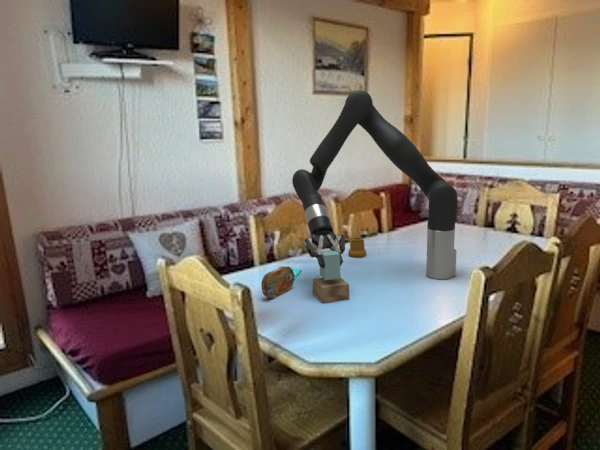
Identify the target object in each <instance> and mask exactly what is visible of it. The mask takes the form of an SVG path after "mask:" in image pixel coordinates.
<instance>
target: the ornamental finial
mask: <svg viewBox="0 0 600 450" xmlns="http://www.w3.org/2000/svg"><path fill="white" fill-rule="evenodd" d="M349 242H350V243H349V249H348V253H347V254H348V256H350V257H351V258H364V257H365V256H366V255H367V250H366V249H365V240H364V239H363V237H361V236H359V235H355V236H354V237H351V239H350V240H349Z"/></svg>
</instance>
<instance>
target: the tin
mask: <svg viewBox="0 0 600 450" xmlns="http://www.w3.org/2000/svg"><path fill="white" fill-rule="evenodd" d="M292 269H293V268H292V267H290V266H284V265H283V266H278V267H277V268H275V269H272V270H271V271H268V272H267V273H266V274H264V275H263V277H262V279H261V293H262V294H263V296H264V297H265V298H268V299H269V298H271V299H277V298H278V297H280V296H282V295H284V294H286V293H288V292H289V291H290V290H291V289H292V287H293V285H294V282H295V280H294V273H293V270H292Z"/></svg>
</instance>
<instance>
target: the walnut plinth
mask: <svg viewBox="0 0 600 450" xmlns="http://www.w3.org/2000/svg"><path fill="white" fill-rule="evenodd" d="M312 295H314V296H315V297H316V298H317V300H319V301H320V302H321V303H322V304H325V303H333V302H339V301H347V300H350V283H348V281H346V280H345V279H343V278H342V277H341V276H340V278H338V279H331V280H324V279H323V278H322V277H317V278H312Z"/></svg>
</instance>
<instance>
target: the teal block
mask: <svg viewBox="0 0 600 450" xmlns="http://www.w3.org/2000/svg"><path fill="white" fill-rule="evenodd" d="M321 255H322V256H323V259H324V263H325V267H324V268H321V267H320V266H319V276H320V278H323V279H324V280H331V279H338V278H340V277H341V266H340V254H339V253H338V252H336V251H335V250H330V249H329V250H322V253H321Z"/></svg>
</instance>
